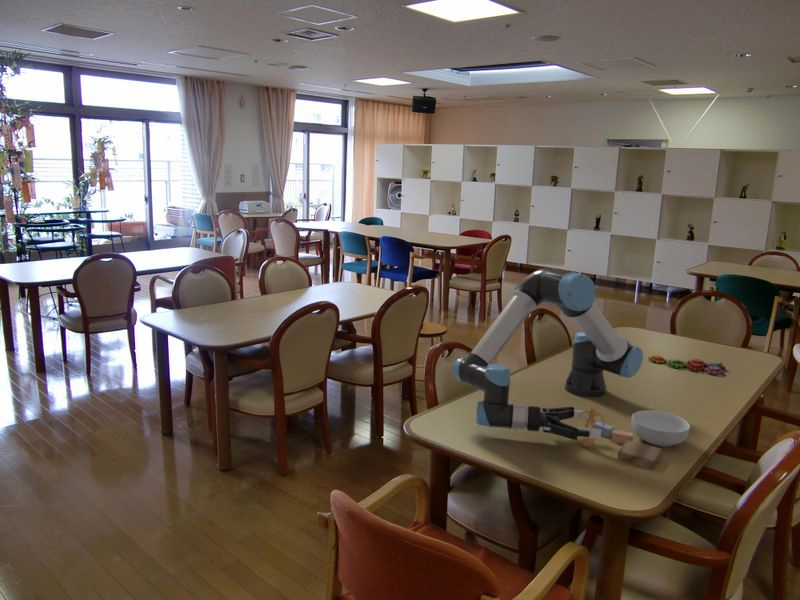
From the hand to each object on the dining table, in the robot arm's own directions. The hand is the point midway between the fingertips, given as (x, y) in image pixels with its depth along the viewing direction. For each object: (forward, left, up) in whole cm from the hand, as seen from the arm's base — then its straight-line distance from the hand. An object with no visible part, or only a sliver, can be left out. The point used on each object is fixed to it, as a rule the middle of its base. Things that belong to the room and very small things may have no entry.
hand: (598, 425), depth 190 cm
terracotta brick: (+5, +9, -7) cm, 13 cm away
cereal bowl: (+14, +16, -7) cm, 23 cm away
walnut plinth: (+13, 0, -7) cm, 15 cm away
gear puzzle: (+5, +109, -8) cm, 110 cm away
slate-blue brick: (-1, +11, -7) cm, 13 cm away
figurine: (-2, -1, -7) cm, 7 cm away
